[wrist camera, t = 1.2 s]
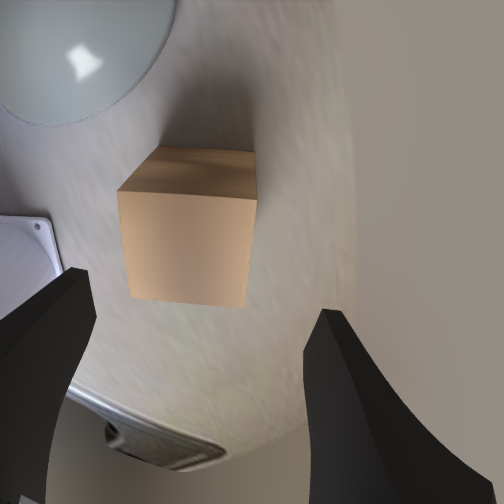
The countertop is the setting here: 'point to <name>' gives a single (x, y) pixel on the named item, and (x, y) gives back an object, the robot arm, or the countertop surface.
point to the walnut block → (189, 225)
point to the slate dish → (76, 54)
